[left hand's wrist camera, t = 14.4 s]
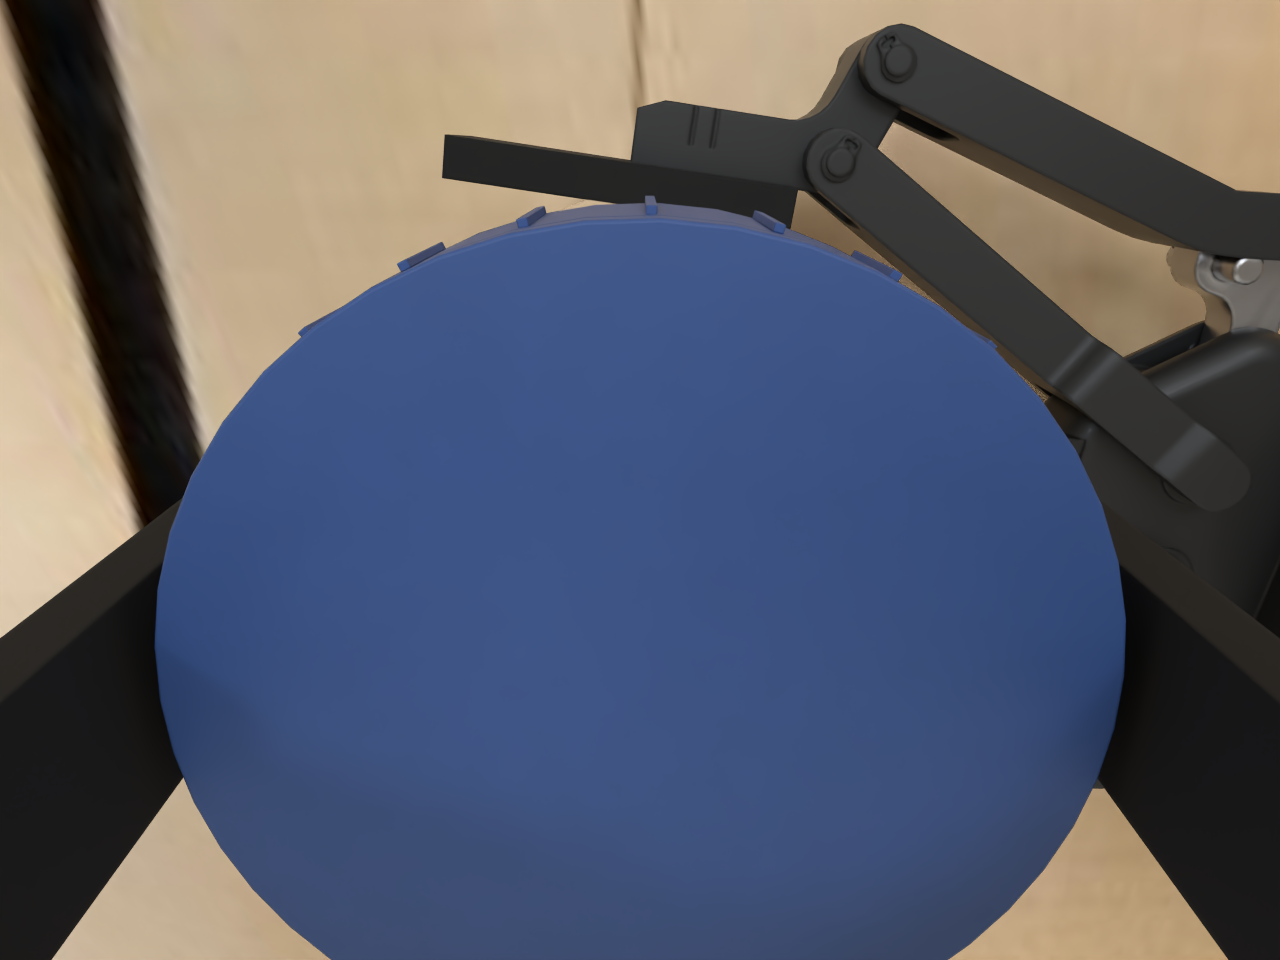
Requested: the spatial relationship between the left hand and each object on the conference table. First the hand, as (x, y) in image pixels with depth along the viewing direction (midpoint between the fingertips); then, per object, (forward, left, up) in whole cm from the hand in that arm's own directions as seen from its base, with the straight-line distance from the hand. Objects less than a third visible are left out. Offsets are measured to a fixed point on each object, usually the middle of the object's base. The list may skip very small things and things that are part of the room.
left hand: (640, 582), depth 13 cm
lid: (0, 0, +3) cm, 3 cm away
